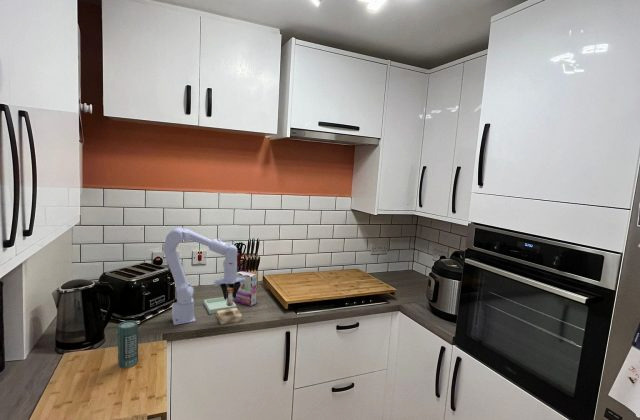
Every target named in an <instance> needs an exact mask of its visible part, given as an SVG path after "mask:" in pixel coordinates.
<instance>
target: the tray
mask: <svg viewBox="0 0 640 420" xmlns="http://www.w3.org/2000/svg"><path fill="white" fill-rule="evenodd" d="M226 299H227V298H226ZM226 299H224V296H222V297H215V298H208V299H204V300H203V305H204V307H205V309H206V311H207V313H208V315H216V311H219V310H225V309H232V308H237V304H236V303H235V301H233V305H232V306H227V305H226Z"/></svg>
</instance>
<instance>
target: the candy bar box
mask: <svg viewBox="0 0 640 420" xmlns="http://www.w3.org/2000/svg"><path fill="white" fill-rule="evenodd" d="M242 277H245V278H246V282H240V284H241V286H240V288H239V289H238V292H237V294H236V298H234V303H235V302H236V303H238V304H242V305H245V306H248V307H252V306H255V305H256V304H257V295H258V293H257V292H258V291H257V290H258V274H256V273H252V272H247V271H244V270H241V271H237V278H242Z"/></svg>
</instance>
